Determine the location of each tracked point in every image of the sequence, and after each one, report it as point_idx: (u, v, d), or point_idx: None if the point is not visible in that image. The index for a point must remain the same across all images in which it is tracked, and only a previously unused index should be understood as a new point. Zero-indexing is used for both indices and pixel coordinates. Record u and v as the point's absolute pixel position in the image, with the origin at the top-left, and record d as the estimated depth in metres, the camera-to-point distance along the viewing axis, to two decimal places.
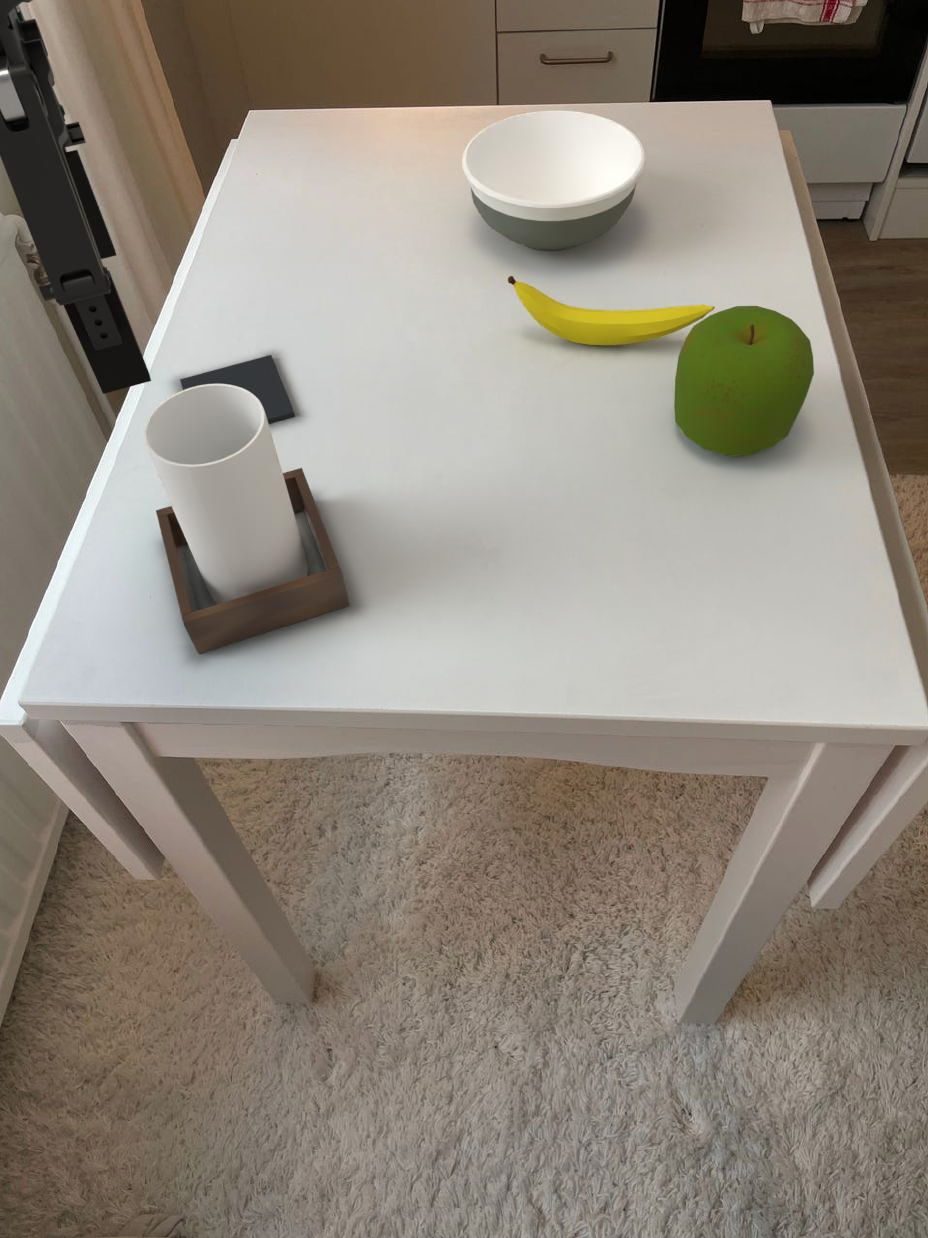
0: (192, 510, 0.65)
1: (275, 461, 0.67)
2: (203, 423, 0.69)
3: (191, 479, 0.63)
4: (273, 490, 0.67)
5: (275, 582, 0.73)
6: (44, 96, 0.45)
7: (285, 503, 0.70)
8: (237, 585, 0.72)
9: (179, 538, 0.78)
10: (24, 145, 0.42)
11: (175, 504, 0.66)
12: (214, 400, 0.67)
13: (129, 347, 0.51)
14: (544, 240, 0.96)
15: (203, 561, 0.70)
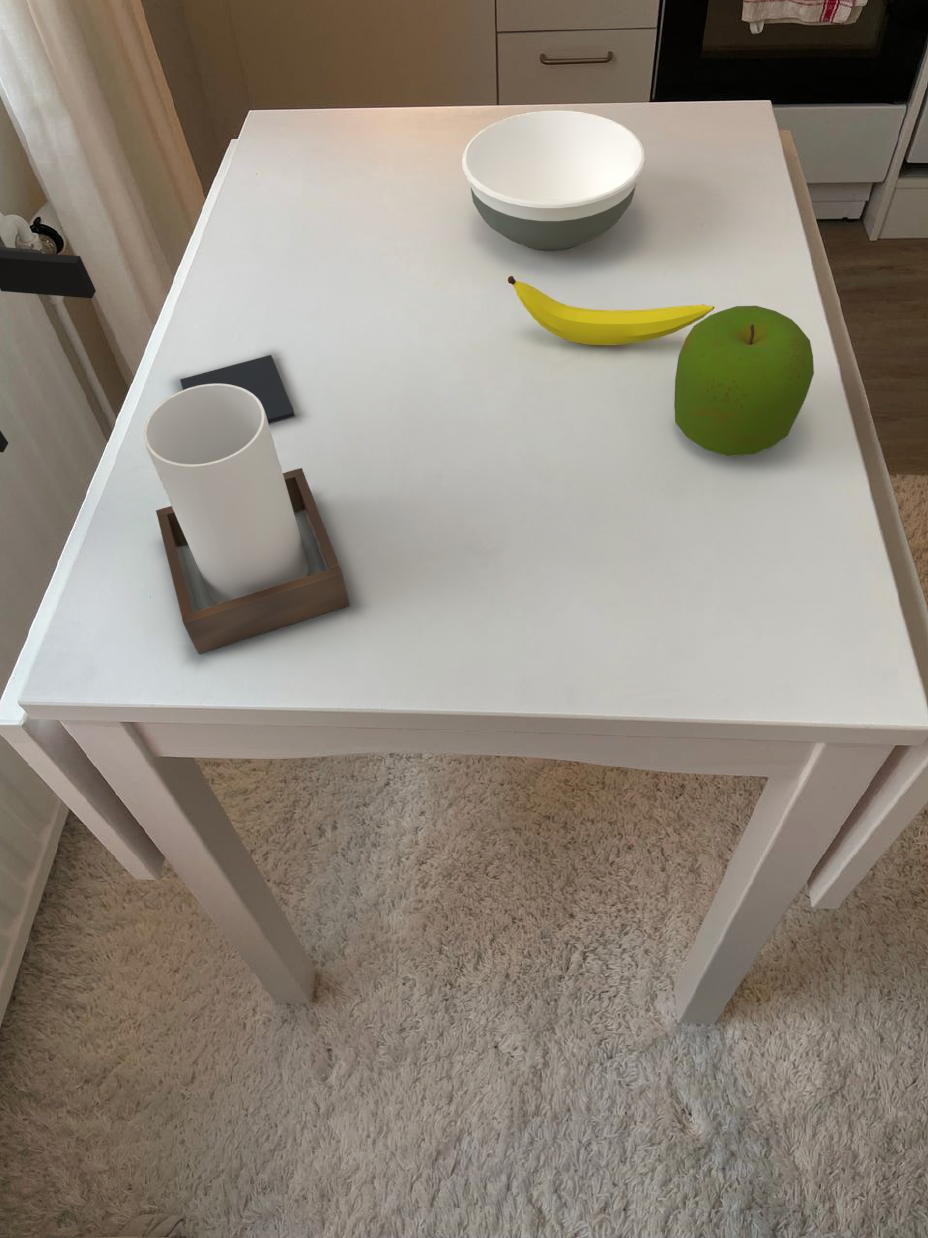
0: (192, 510, 0.65)
1: (275, 461, 0.67)
2: (203, 422, 0.69)
3: (191, 479, 0.63)
4: (273, 490, 0.67)
5: (275, 582, 0.73)
6: None
7: (285, 503, 0.70)
8: (237, 585, 0.72)
9: (179, 538, 0.78)
10: None
11: (175, 504, 0.66)
12: (214, 399, 0.67)
13: None
14: (544, 240, 0.96)
15: (203, 561, 0.70)
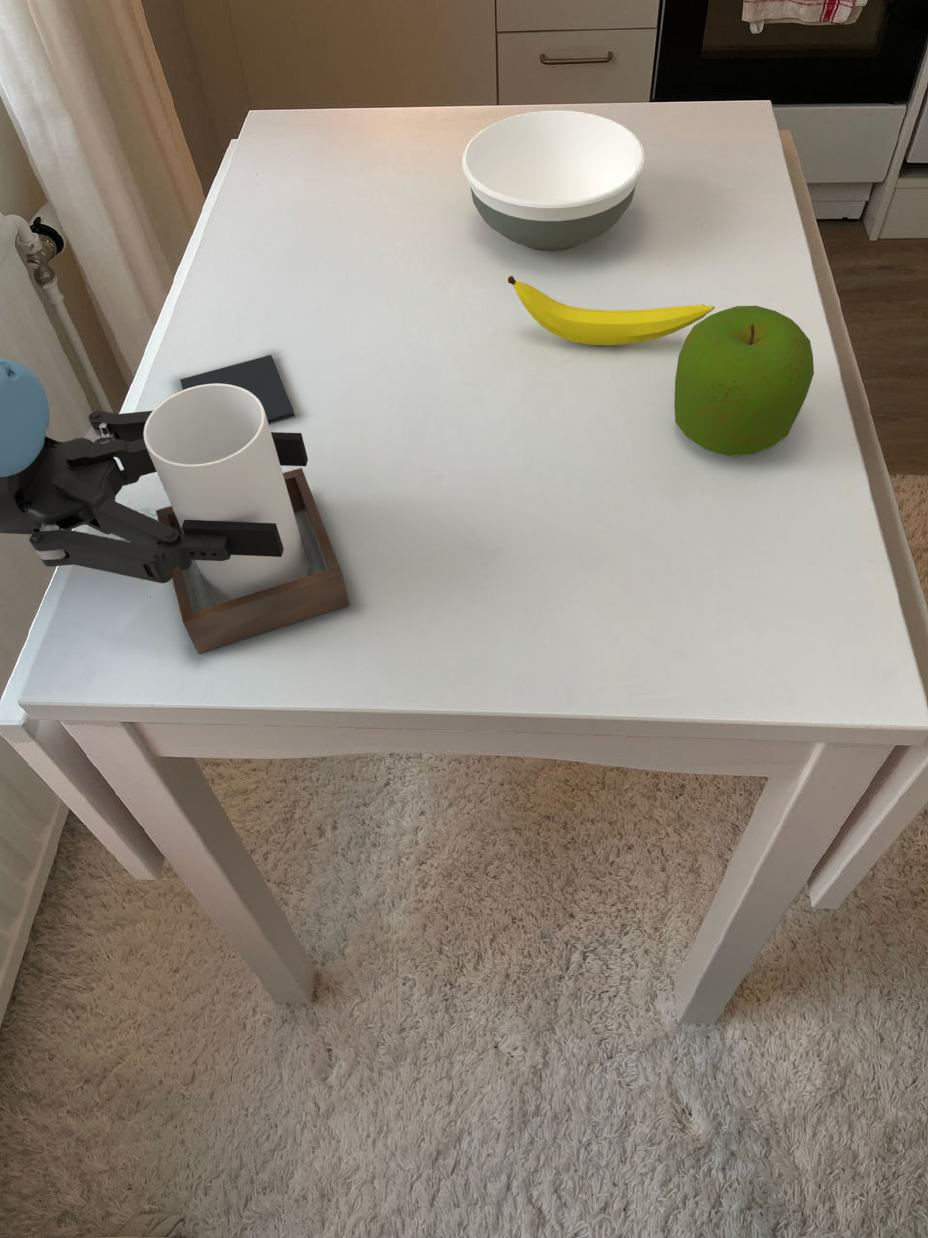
0: (191, 510, 0.65)
1: (275, 461, 0.67)
2: (203, 422, 0.69)
3: (191, 479, 0.63)
4: (273, 490, 0.67)
5: (275, 582, 0.73)
6: None
7: (285, 503, 0.70)
8: (237, 585, 0.72)
9: None
10: None
11: (175, 504, 0.66)
12: (214, 399, 0.67)
13: None
14: (544, 240, 0.96)
15: (203, 561, 0.70)
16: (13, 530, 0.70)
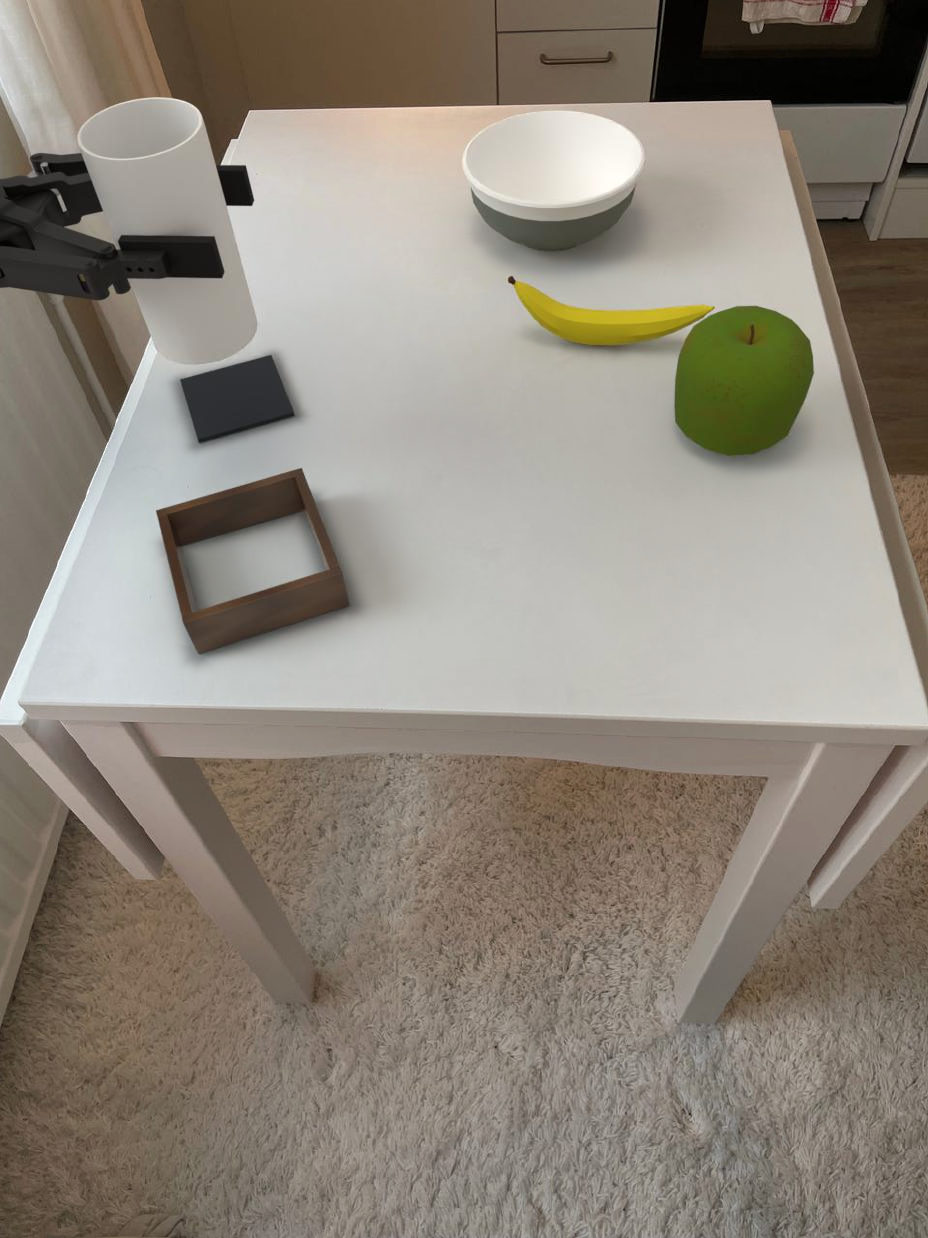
0: (128, 222, 0.64)
1: (215, 178, 0.65)
2: (144, 147, 0.67)
3: (125, 178, 0.61)
4: (214, 209, 0.65)
5: (220, 326, 0.71)
6: None
7: (228, 233, 0.68)
8: (181, 325, 0.70)
9: (179, 538, 0.78)
10: None
11: (112, 219, 0.64)
12: (153, 117, 0.66)
13: None
14: (544, 240, 0.96)
15: (145, 296, 0.69)
16: None
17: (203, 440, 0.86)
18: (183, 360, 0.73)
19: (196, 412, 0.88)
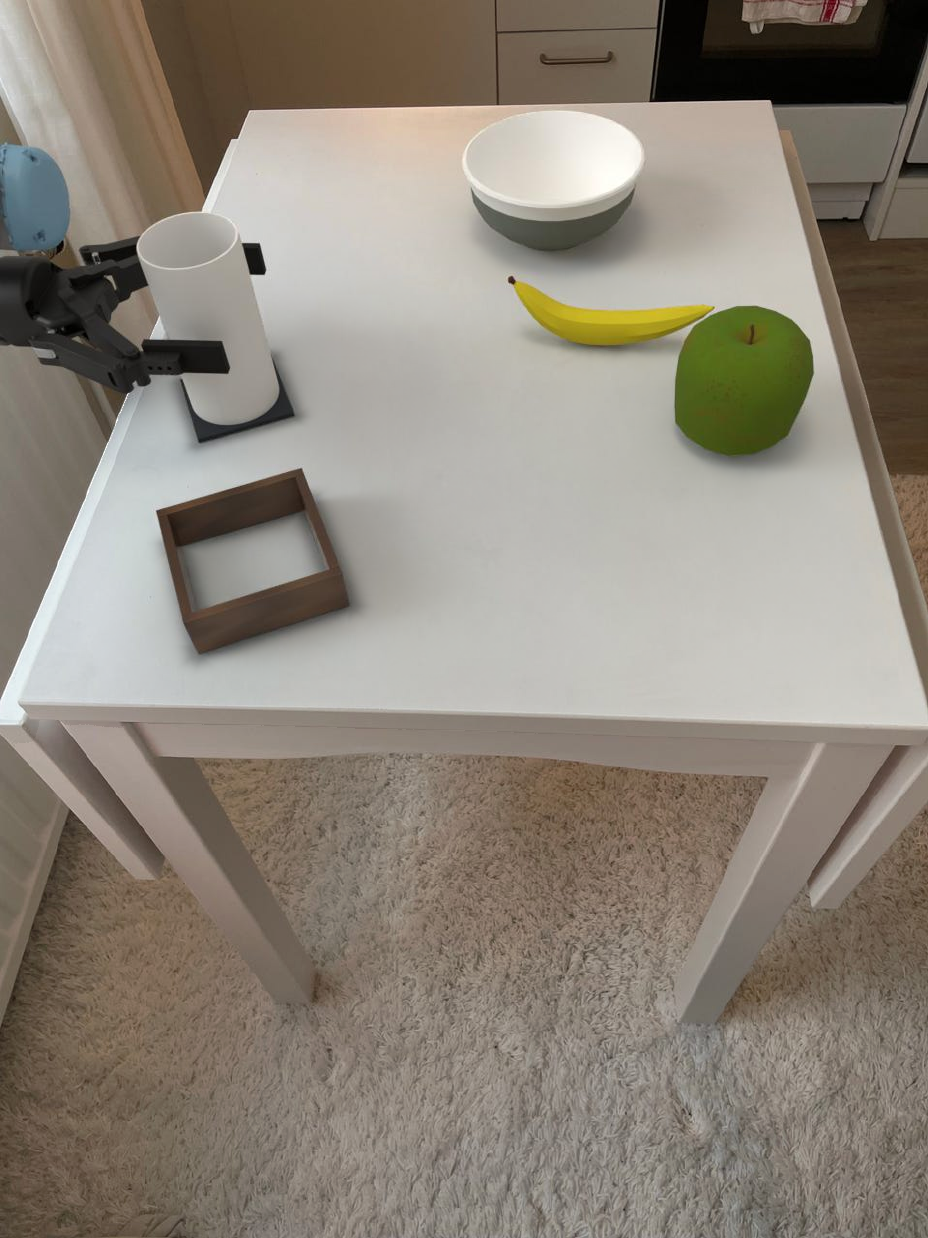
0: (177, 315, 0.78)
1: (248, 277, 0.79)
2: (187, 249, 0.81)
3: (176, 283, 0.75)
4: (246, 303, 0.79)
5: (249, 394, 0.85)
6: None
7: (257, 319, 0.82)
8: (217, 394, 0.84)
9: (179, 538, 0.78)
10: None
11: (163, 312, 0.78)
12: (196, 227, 0.80)
13: None
14: (544, 240, 0.96)
15: None
16: (24, 339, 0.82)
17: (203, 440, 0.86)
18: (218, 421, 0.87)
19: None
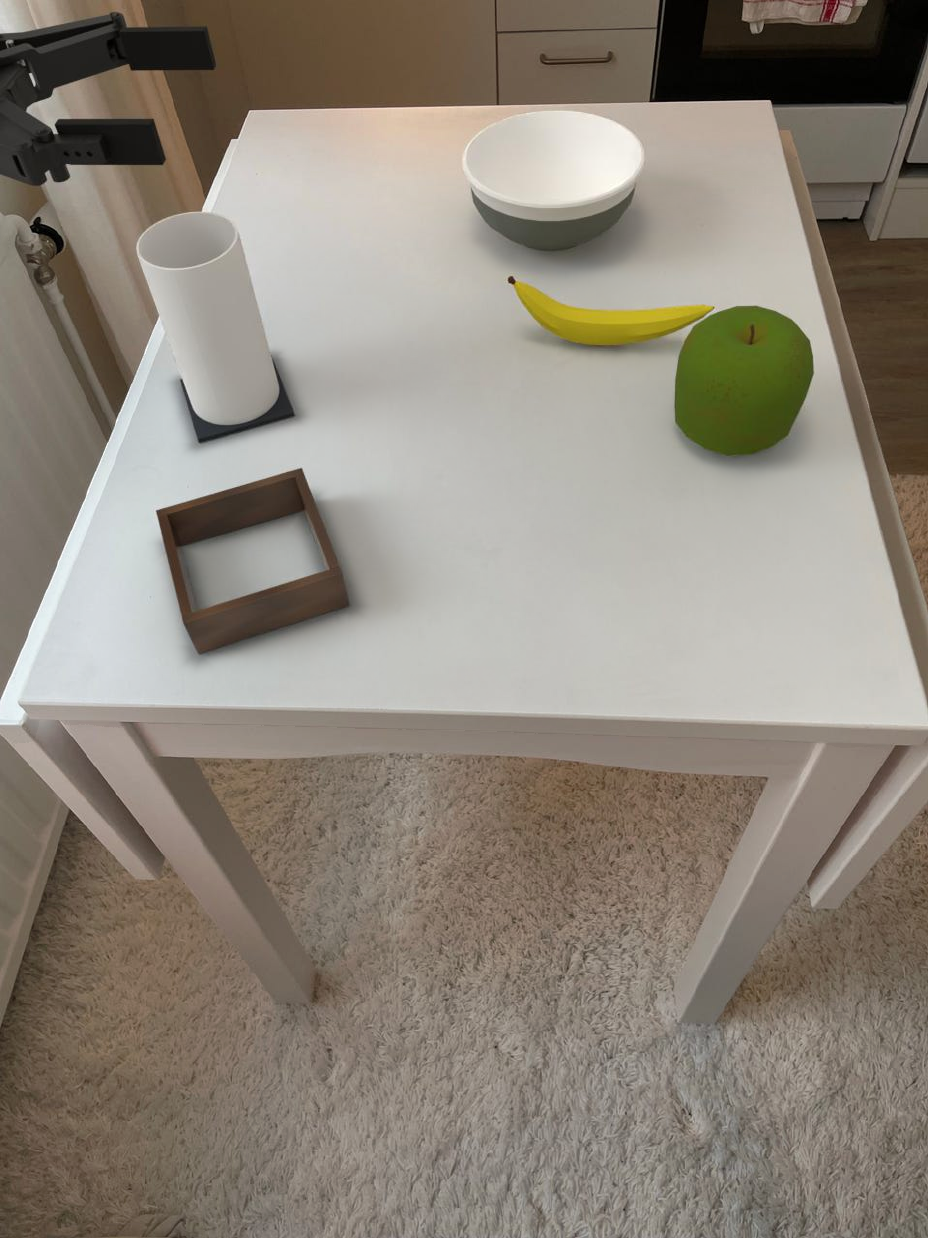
0: (177, 315, 0.78)
1: (247, 277, 0.79)
2: (187, 249, 0.81)
3: (176, 283, 0.75)
4: (246, 303, 0.79)
5: (249, 394, 0.85)
6: None
7: (257, 319, 0.82)
8: (217, 394, 0.84)
9: (179, 538, 0.78)
10: None
11: (163, 312, 0.78)
12: (196, 227, 0.80)
13: None
14: (544, 240, 0.96)
15: (187, 371, 0.83)
16: None
17: (203, 440, 0.86)
18: (218, 421, 0.87)
19: None
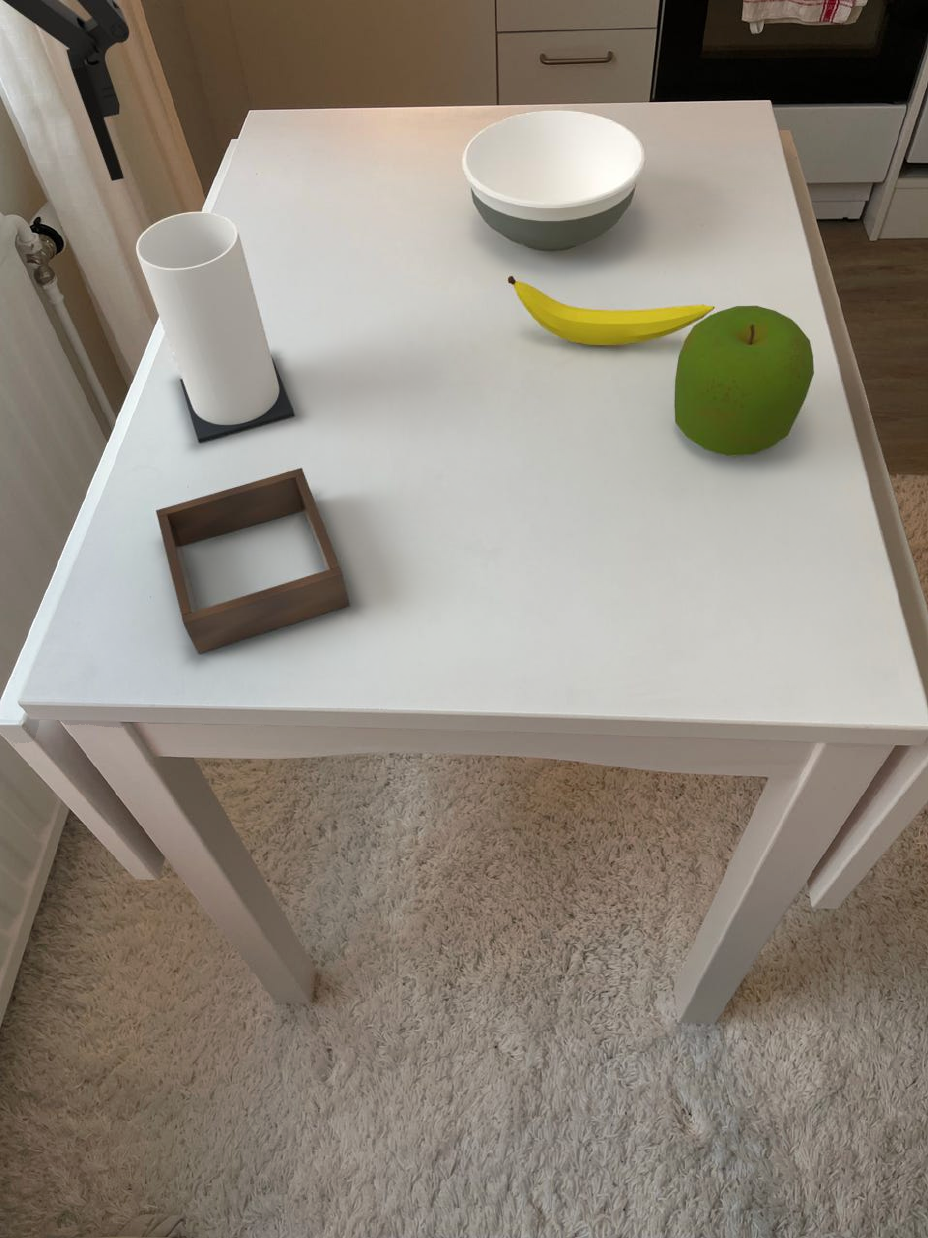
0: (177, 315, 0.78)
1: (247, 277, 0.79)
2: (187, 249, 0.81)
3: (176, 283, 0.75)
4: (246, 303, 0.79)
5: (249, 394, 0.85)
6: None
7: (257, 319, 0.82)
8: (217, 394, 0.84)
9: (179, 538, 0.78)
10: None
11: (163, 312, 0.78)
12: (196, 227, 0.80)
13: (105, 122, 0.58)
14: (544, 240, 0.96)
15: (187, 371, 0.83)
16: None
17: (203, 440, 0.86)
18: (218, 421, 0.87)
19: None
